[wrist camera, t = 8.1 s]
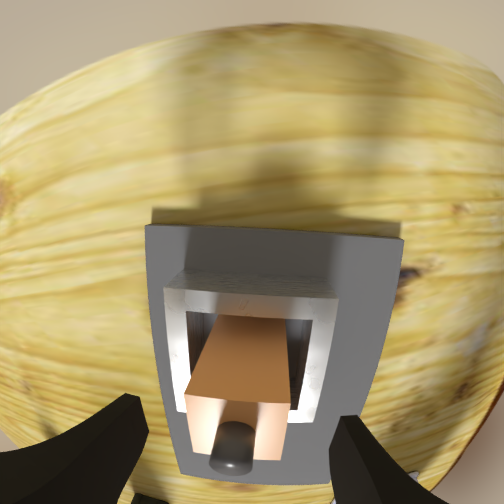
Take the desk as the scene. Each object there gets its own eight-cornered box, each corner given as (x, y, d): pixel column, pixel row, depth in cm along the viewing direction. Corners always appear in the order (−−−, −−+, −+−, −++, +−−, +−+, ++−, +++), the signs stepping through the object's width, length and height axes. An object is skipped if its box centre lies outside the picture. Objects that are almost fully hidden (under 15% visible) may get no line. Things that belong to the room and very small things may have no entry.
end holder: (326, 277, 14) (338, 298, 11) (308, 389, 16) (313, 422, 13) (183, 268, 15) (163, 287, 12) (190, 380, 16) (177, 410, 13)
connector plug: (284, 314, 15) (292, 439, 6) (279, 366, 15) (280, 490, 7) (219, 310, 15) (169, 426, 7) (220, 362, 16) (184, 480, 7)
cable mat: (398, 237, 14) (404, 240, 13) (327, 477, 19) (328, 483, 18) (150, 223, 15) (144, 225, 14) (182, 467, 20) (180, 473, 19)
